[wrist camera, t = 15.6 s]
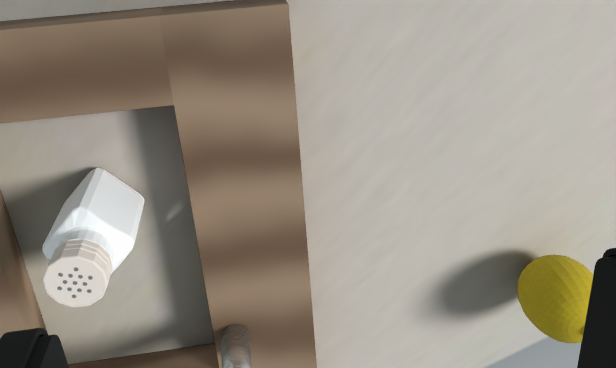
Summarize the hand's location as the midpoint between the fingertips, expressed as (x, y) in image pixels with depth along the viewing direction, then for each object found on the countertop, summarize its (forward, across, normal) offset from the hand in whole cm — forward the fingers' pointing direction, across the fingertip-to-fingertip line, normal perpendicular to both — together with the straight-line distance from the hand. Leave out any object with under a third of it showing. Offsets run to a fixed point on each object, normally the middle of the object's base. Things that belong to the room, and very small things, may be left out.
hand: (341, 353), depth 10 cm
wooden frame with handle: (+28, +11, +13) cm, 33 cm away
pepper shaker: (+28, +11, +10) cm, 32 cm away
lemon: (+28, -20, +20) cm, 40 cm away
